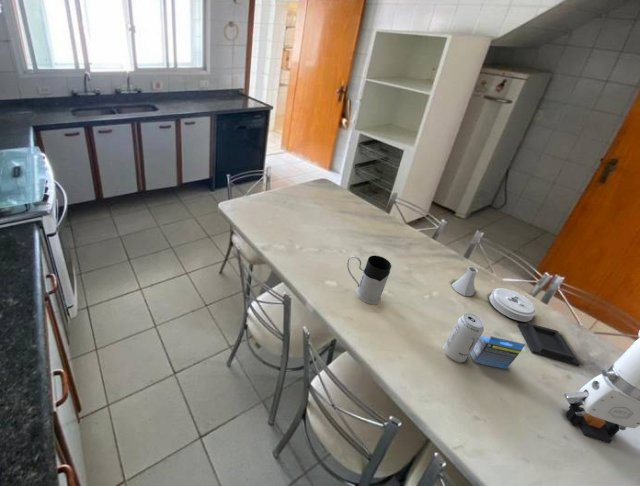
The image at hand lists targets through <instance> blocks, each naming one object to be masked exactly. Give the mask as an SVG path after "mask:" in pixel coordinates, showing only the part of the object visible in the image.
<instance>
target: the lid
mask: <svg viewBox="0 0 640 486" xmlns="http://www.w3.org/2000/svg"><path fill="white" fill-rule="evenodd" d="M488 299H489V302H490V304H491V305H492V307H493V308H495V310H497V311H498V312H499V313H501V314H502V315H504V316H506V317H508V318H510V319H512V320H515V321H518V322H524V323H528V322H531V321H532V320H533V317H534V316H535V315H536V314H537V309H536V307H535V305H534V304H533V302H531V301H530V299H529V298H527V297H526V296H524V295H523V294H521V293H519V292H517V291H515V290H513V289H509V288H503V287H501V288H500V287H499V288H498V287H497V288H494V289H493V290H492V292H491V294H490V295H489V297H488Z"/></svg>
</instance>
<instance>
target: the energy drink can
mask: <svg viewBox="0 0 640 486" xmlns="http://www.w3.org/2000/svg"><path fill="white" fill-rule="evenodd" d="M484 325H485V324H484V322H483V320H482V319H481V318H480V317H479V316H477V315H475V314H472V313H464V314H463V315H461V316H460V317H458V320H457V321H456V323H455V325H454V327H453V328H452V330H451V332H450V334H449V335H448V337H447V339H446V341H445V343H444V345H443V351H444V353H445V354H446V356H447V357H448V358H449V359H451V360H453V361H454V362H457V363H464V362H466V360H467V359H468V358H469V356H470V355H471V354H470V353H471V351H472V349H473V348H474V346H475V344H476V343H477V341H478V340H479V338H480V336H482V334H484V331H485V330H484Z"/></svg>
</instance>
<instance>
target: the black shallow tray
mask: <svg viewBox="0 0 640 486" xmlns="http://www.w3.org/2000/svg"><path fill="white" fill-rule="evenodd" d="M517 327H518V329H519V331H520V333H521V335H522V337H523V339H524V340H525V342H526V343H525V344H527V346H528V348H529V351H530V353H531V354H535V355H538V356H542V357H544V358H548V359H552V360H555V361H559V362H562V363H565V364H569V365H572V366H576V367H579V366H580V365H581V363H580V361H579V360H578V359H577V357H576V356H575V355H576V354H574V352H573V351H572V348H570V346H569V344H568V343H567V341H566V340H565V338H564V337H563V335H562V334H560V333H559V331H558V330H557V329H553V328H548V327H545V326H541V325H538V324H534V323H530V322H527V324H525V323H520V322H519V323H518V324H517Z"/></svg>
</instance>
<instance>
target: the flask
mask: <svg viewBox="0 0 640 486" xmlns="http://www.w3.org/2000/svg"><path fill="white" fill-rule="evenodd" d="M477 273H479V270H478V269H477V268H476V267H474V266H467V269H466V272H465V273H464V274H463V275H462V276H461V277H459V278H458V279H457V280H456V281H454V282H453V283H452V284H451V287H452V288H453V290H454V291H455V292H456V293H458V294H460V295H462V296H464V297H472V296H473V295H474V294H475V278H476V275H477Z"/></svg>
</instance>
